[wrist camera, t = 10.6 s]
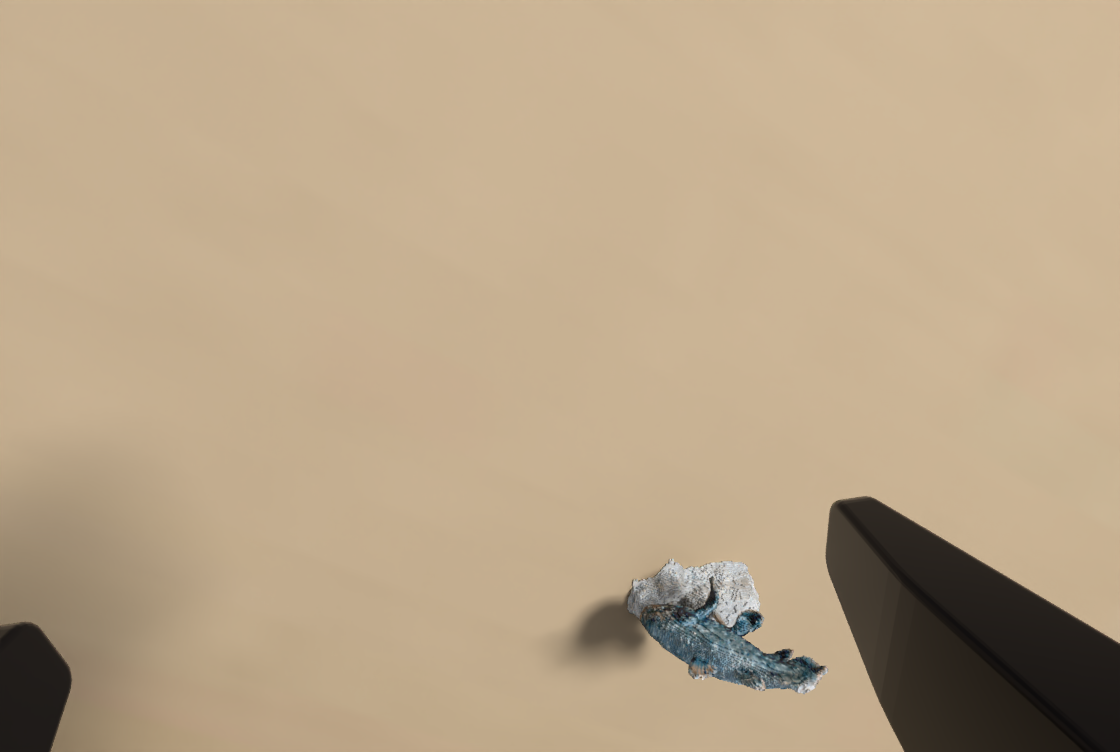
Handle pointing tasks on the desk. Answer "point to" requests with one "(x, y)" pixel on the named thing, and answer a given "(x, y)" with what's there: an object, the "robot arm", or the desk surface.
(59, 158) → the desk surface
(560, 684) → the desk surface
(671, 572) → the sculpture
